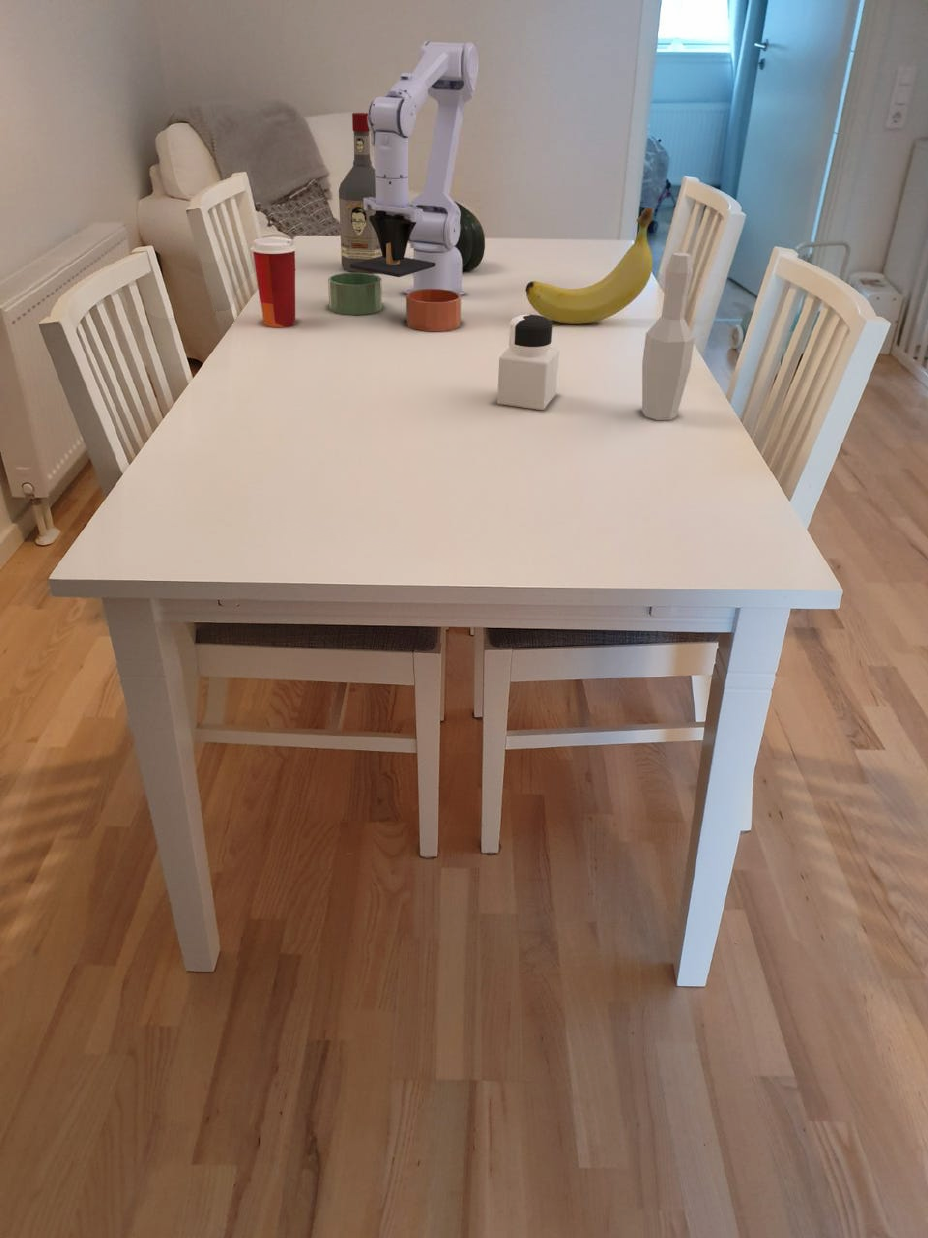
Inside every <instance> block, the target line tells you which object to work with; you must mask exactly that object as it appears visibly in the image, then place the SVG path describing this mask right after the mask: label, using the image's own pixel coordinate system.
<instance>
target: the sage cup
mask: <svg viewBox="0 0 928 1238" xmlns="http://www.w3.org/2000/svg"><path fill="white" fill-rule="evenodd" d="M382 283H383V282H382V278H381V277H380V276H379V275H376V274H374V273H358V272H341V273H336V274H332V275H330V276H329V277H328V278H327V291H328V305H329V310H330V311H331V312H333V313H336V314H339V315H348V316H365V315H371V314H375V313H378V312H381V310H382V307H383V292H382V287H383V285H382Z"/></svg>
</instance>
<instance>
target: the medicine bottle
mask: <svg viewBox="0 0 928 1238" xmlns="http://www.w3.org/2000/svg"><path fill="white" fill-rule="evenodd" d="M553 326H554V323H553V322H552V320H551V319H548V318H546V317H544V316H542V315H540V314H539V315H538V314H521V315H517V316H515V317H513V318H512V319H511V320H510V321H509V336H508V348H507V349H506V350H505V351H504V352H503V353H502V354H501V355H500V356H499V357H498V374H497V375H498V376H497V399H496V400H497V401H496V404H498V405H502V406H510V407H516V408H522V409H523V408H524V409H529V410H538V411H544V410H545V409H546V407H547V406H548V405H549V404H550V403H551V401H552V400H553V399H554V397H555V396H556V394H557V381H558V369H559V356H560V350H559V348H556V347H552V340H553V328H554V327H553Z"/></svg>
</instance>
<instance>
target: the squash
mask: <svg viewBox="0 0 928 1238" xmlns="http://www.w3.org/2000/svg"><path fill="white" fill-rule="evenodd" d="M453 201H454V202H455V203H456V204H457V205H458V207H459V209H460V211H461V216H460V236H459V240H458V242H457V244H456V245H455V247H456V248H457V249H458V250H459V251H460V254H461V257H462V271H464V272H465V271H466V272H469V271H473V270H474V269H476V268H478V267H479V266H480V265H481V263H482V261H483V259H484V256H485V251H486V250H485V249H486V235H485V232H484V229H483V226H482V224H481V222H480V220H479V219H478V218H477V217H476V215H475V214H474V213H473V212H471V210H469V209H468V208H466V207H465V206H463V205H461V204H460V203H459V202H457V201H455V200H453Z"/></svg>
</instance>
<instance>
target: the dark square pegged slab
mask: <svg viewBox="0 0 928 1238" xmlns="http://www.w3.org/2000/svg"><path fill="white" fill-rule="evenodd" d="M431 267H435V263H433V262H427V261H421V260H416V259H414V258H411V257H405V256H404V260H398V261H394V260H393V259H392V255H391V243H387V244H386V258H384V257H383V256H380V257H376V258H373V259H369V260H365V261H362V262H358V263H354V264H350V268H353V269H359V270H364V271H369V272H374V273H373V274H381V275H385V276H389V277H390V276H391V277H396V278H401V277H405V276H408V275H411V274H414V273H415V272H418V271H421V270H425V269H428V268H431Z"/></svg>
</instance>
